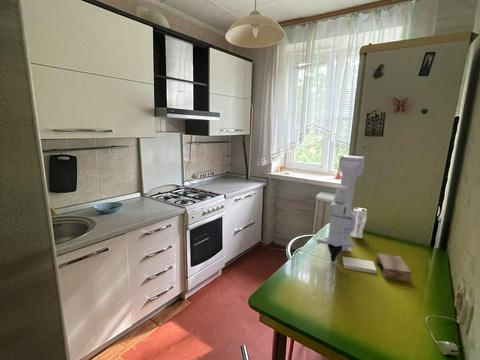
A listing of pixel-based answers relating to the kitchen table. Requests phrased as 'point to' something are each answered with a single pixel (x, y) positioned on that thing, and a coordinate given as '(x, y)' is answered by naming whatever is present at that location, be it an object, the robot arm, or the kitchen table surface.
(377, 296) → the kitchen table surface
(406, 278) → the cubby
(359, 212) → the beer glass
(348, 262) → the tile
